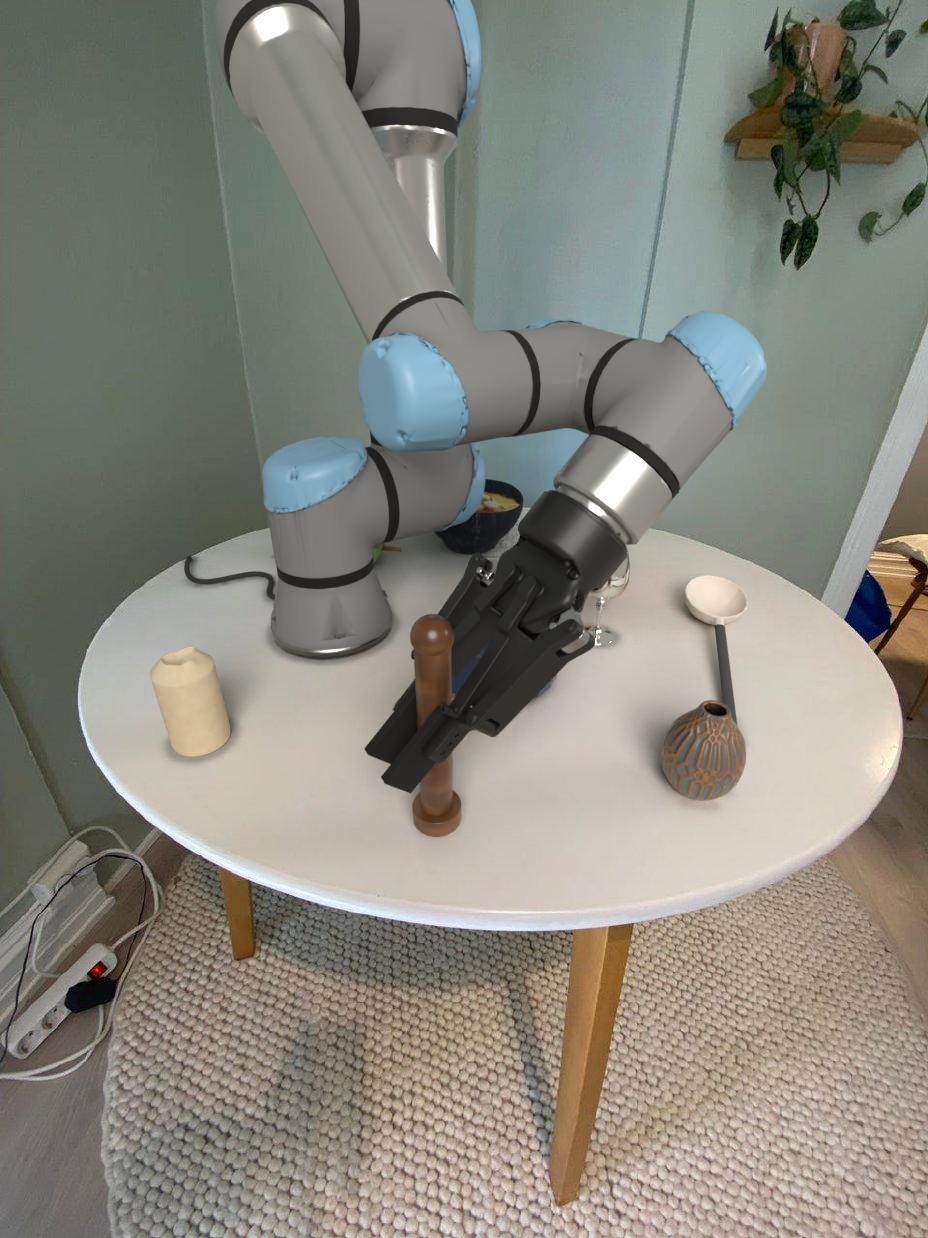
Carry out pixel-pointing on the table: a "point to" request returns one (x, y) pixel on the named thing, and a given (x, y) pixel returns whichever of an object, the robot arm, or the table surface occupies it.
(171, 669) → the candle
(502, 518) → the bowl
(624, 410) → the robot arm
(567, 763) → the table surface
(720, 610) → the ladle
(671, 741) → the vase
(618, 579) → the wineglass
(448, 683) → the brown wooden post
